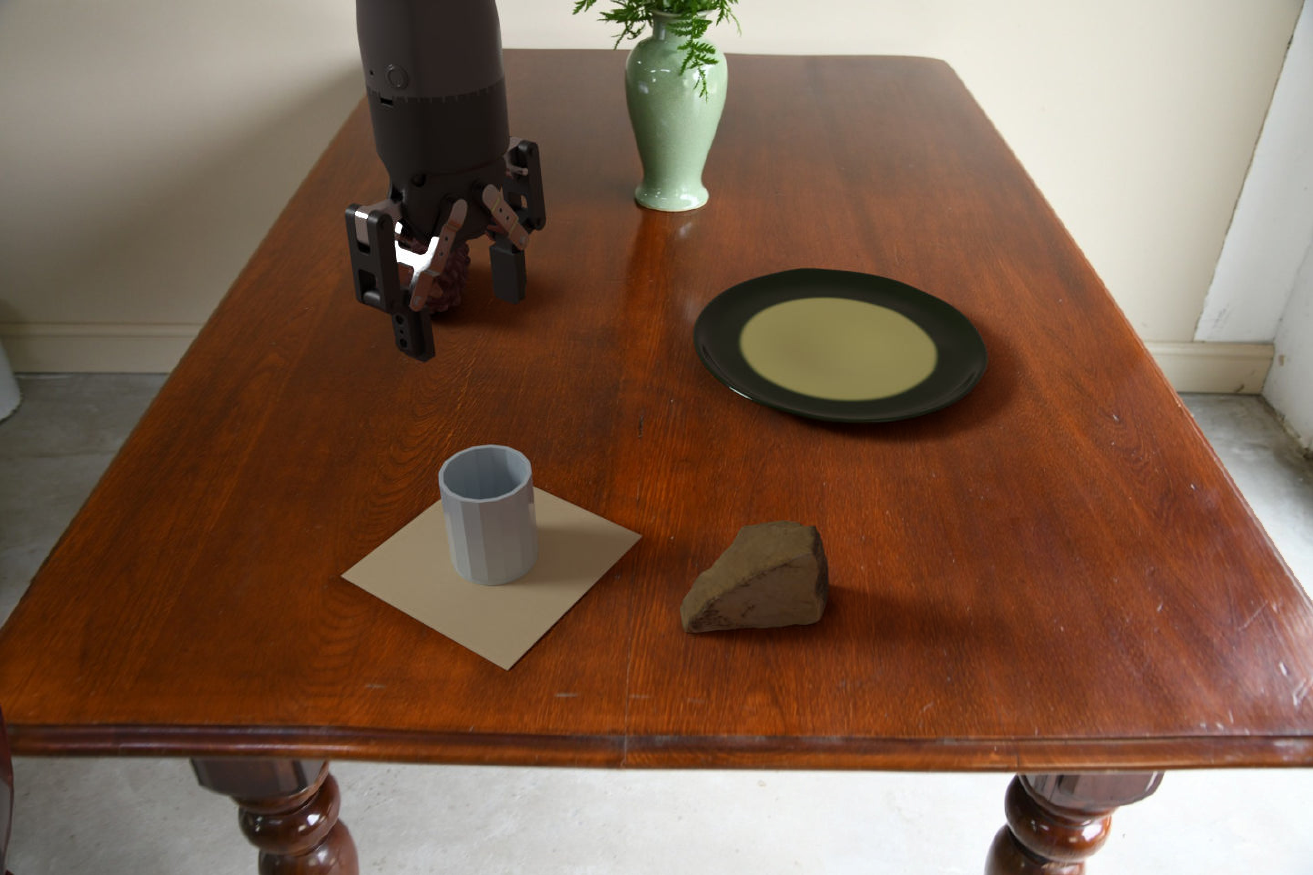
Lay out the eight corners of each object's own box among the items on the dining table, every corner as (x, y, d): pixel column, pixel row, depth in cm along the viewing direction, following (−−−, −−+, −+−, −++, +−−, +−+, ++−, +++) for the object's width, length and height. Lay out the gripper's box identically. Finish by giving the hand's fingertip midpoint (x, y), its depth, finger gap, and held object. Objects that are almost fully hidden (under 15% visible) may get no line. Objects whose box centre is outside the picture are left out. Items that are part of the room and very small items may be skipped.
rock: (655, 638, 68) (805, 660, 65) (666, 509, 68) (816, 524, 65) (701, 617, 78) (832, 635, 75) (710, 505, 78) (842, 518, 75)
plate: (660, 305, 108) (660, 284, 107) (903, 274, 114) (907, 254, 112) (744, 464, 87) (746, 441, 85) (1039, 417, 92) (1046, 394, 91)
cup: (500, 598, 74) (489, 514, 69) (433, 563, 77) (419, 480, 72) (555, 547, 78) (549, 464, 73) (491, 515, 81) (481, 434, 76)
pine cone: (354, 274, 113) (387, 189, 111) (439, 306, 117) (472, 225, 115) (360, 310, 97) (398, 212, 96) (458, 346, 101) (496, 253, 99)
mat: (507, 670, 69) (507, 669, 69) (341, 576, 76) (340, 575, 76) (642, 536, 79) (642, 535, 79) (485, 465, 86) (485, 464, 86)
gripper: (471, 28, 62) (495, 268, 72) (283, 91, 53) (340, 359, 62) (569, 48, 59) (580, 298, 69) (388, 120, 49) (431, 398, 59)
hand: (466, 326), depth 65 cm, fingers open, 8 cm apart
